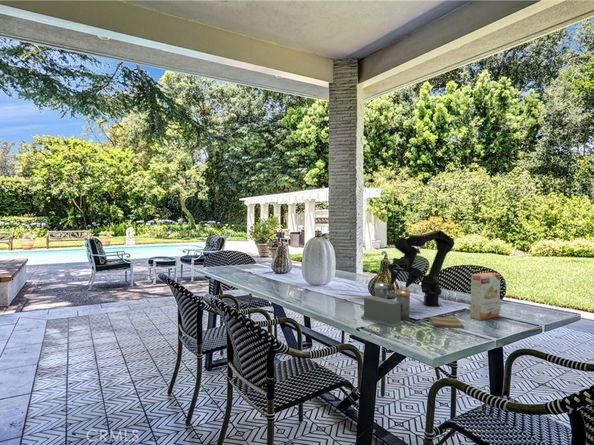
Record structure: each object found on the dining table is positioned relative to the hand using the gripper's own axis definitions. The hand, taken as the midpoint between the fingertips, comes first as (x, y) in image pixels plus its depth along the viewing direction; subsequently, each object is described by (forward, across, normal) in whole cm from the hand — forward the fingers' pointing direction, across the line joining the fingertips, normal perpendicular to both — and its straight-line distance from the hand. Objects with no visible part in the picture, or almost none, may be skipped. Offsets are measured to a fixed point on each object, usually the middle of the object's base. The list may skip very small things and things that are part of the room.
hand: (398, 285), depth 186 cm
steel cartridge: (+13, -10, +4) cm, 16 cm away
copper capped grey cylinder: (+15, +8, +1) cm, 17 cm away
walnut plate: (+10, +24, +10) cm, 28 cm away
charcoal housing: (+20, +6, -9) cm, 23 cm away
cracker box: (-2, +29, +31) cm, 42 cm away
